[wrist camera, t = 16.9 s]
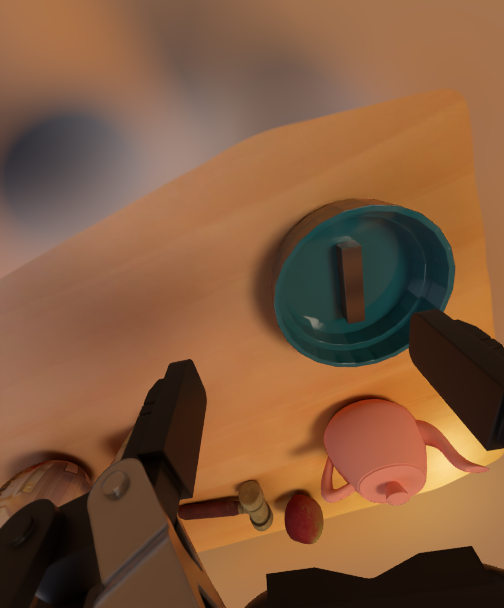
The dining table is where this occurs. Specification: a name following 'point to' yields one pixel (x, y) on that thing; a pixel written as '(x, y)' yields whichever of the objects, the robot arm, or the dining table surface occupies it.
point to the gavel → (234, 507)
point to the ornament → (43, 486)
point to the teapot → (382, 452)
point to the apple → (303, 519)
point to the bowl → (376, 280)
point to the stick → (351, 281)
